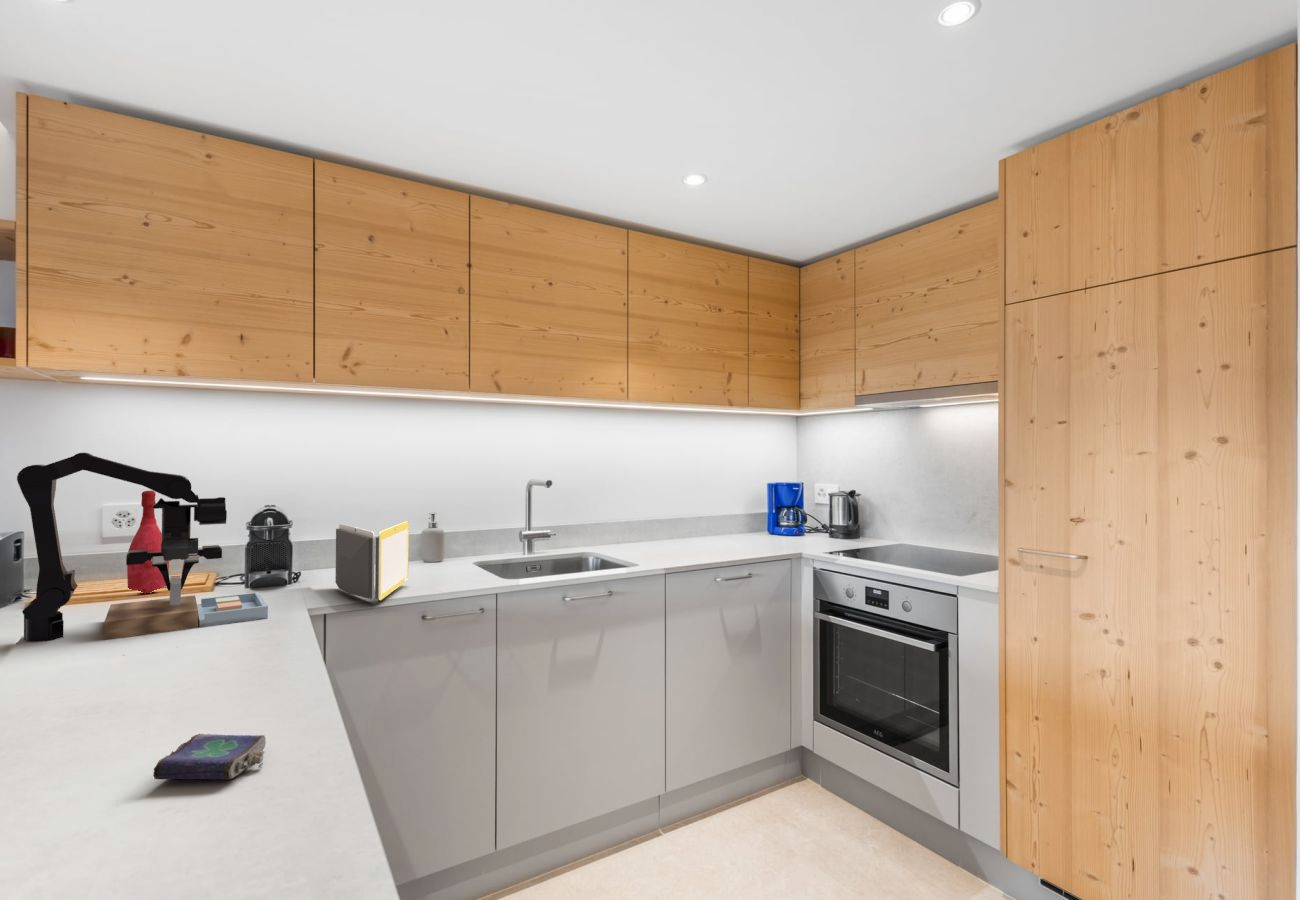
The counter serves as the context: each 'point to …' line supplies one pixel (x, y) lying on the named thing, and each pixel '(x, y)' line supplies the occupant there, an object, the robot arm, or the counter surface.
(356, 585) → the folding display board
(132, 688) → the counter surface
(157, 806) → the counter surface
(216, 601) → the sage tile
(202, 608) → the box
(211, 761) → the navy flat block
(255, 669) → the counter surface
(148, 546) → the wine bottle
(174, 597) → the grey rectangular bar
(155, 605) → the wood-grain brown block
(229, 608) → the terracotta tile
